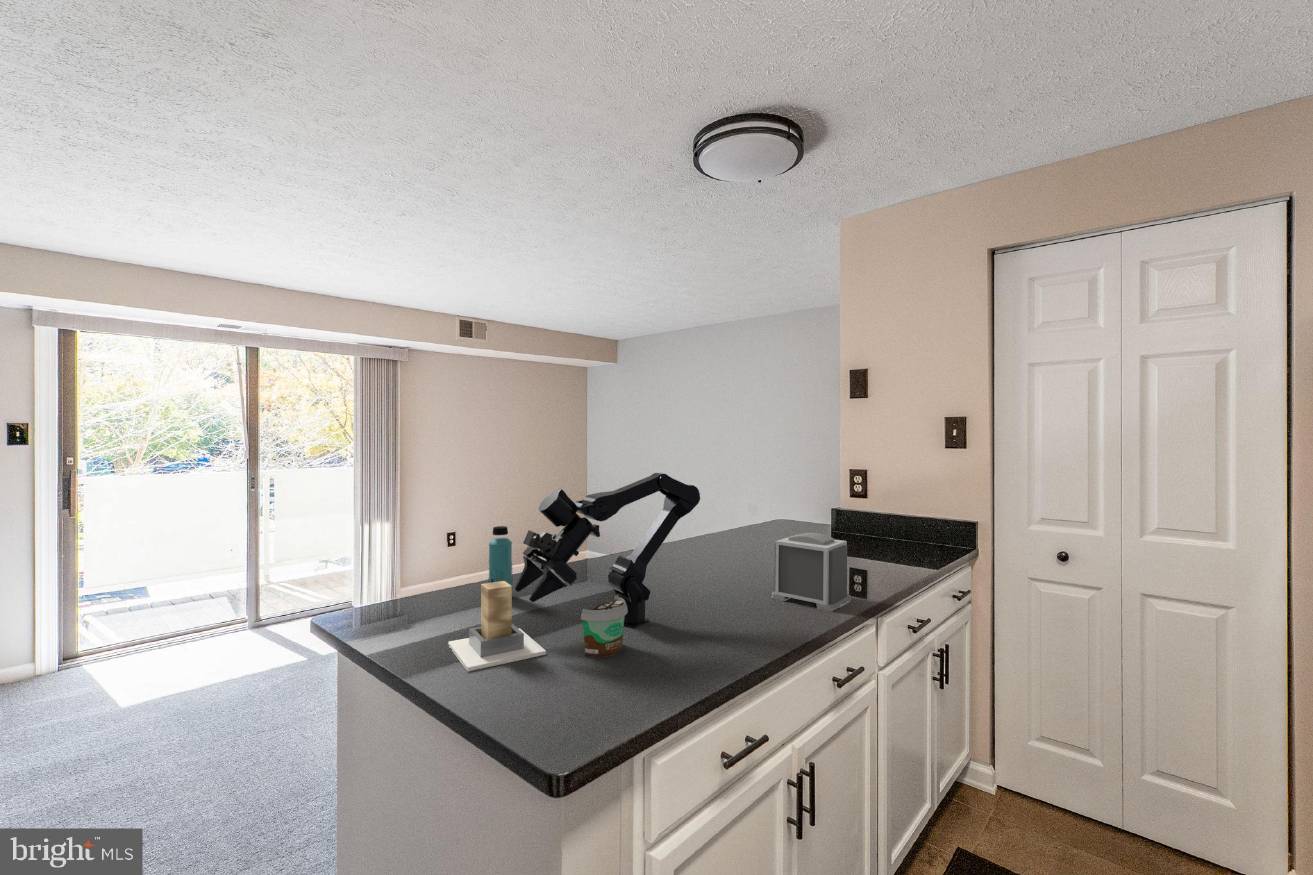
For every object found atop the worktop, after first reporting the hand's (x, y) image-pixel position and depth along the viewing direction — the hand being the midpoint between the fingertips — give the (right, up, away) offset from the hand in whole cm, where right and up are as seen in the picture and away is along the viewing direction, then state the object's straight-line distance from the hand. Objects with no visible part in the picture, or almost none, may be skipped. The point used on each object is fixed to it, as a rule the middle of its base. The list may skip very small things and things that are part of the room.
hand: (523, 595), depth 124 cm
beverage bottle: (-15, -10, +35) cm, 39 cm away
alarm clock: (+72, -11, +35) cm, 81 cm away
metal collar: (-5, -11, -3) cm, 12 cm away
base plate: (-5, -11, -3) cm, 12 cm away
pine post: (-5, -10, -3) cm, 12 cm away
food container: (+19, -11, -4) cm, 23 cm away
